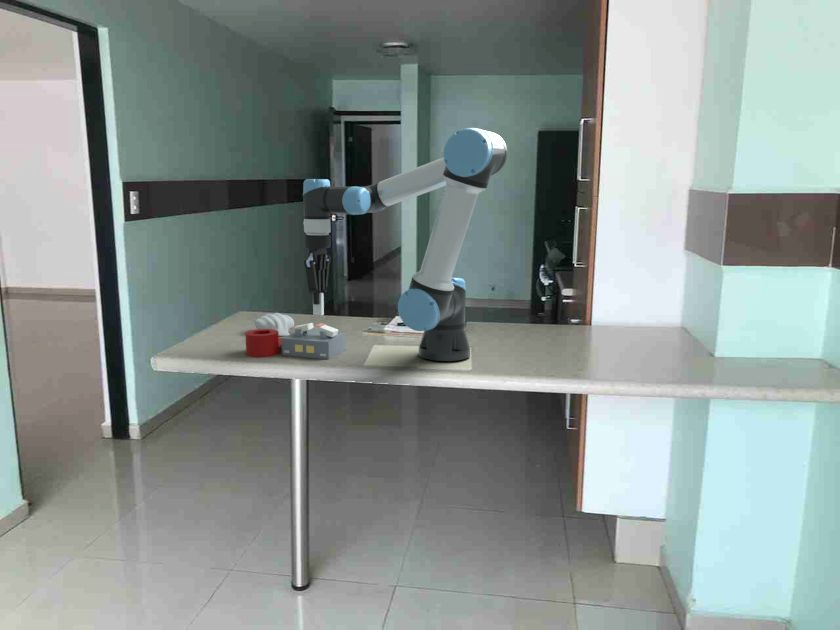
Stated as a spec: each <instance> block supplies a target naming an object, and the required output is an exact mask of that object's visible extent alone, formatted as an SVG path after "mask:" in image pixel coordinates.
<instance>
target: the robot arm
mask: <svg viewBox="0 0 840 630" xmlns="http://www.w3.org/2000/svg"><path fill="white" fill-rule="evenodd" d="M507 160H508V147H507V144H506V142H505V140H504V139H503V138H502V136H500V135H499V134H498V133H496V132H494V131H489V130H485V129H481V128H476V127H467V128H466V127H465V128H461V129H459V130H457V131H455V132H454V133H452V134H451V135H450V137H449V138H448V139H447V140H446V142H445V145H444V149H443V157H441V158H438V159H435V160H434V161H430V162H427V163H426V164H423V165H422V164H421V165H420V166H417V167H415V168H412V169H410V170H407V171H404V172H402V173H400V174H396V175H394V176H391V177H388V178H386V179H383V180H381V181H378V182H376V183H373V184H370V185H366V186H332V185H331V181H330V180H329V179H326V178H325V179H324V178H322V179H321V178H306V179H305V180H304V181H303V186H302V187H303V188H302V189H303V191H302V192H303V193H302V199H303V200H302V201H303V222H302V225H303V232H304V233H305V234H304V235H303V246H304V248H306V249H308V255H307V256H308V258H307V259H304V260H303V264H304V268H305V273H306V280H307V290H308V293H309V294H312V310H313V311H312V315H313V316H323V315H325V311H324V310H325V309H324V308H325V303H324V302H325V301H324V299H325V297H324V295H325V294H324V293H327V292H328V290H327V289H328V284H329V271H330V263H331V259H332V257H331V255H328V254H327V253H328V252H327V249H329V248H331V246H332V245H331V241H332V240H331V239H332V237H331V235H330V234H329V233H331V230H332V229H331V214H338V215H339V214H340V215H351V216H355V215H357V216H358V215H359V216H360V215H364V214H367V213H368V214H370V213H371V214H374V213H378V212H381V211H383V210H384V209H385V208H388V207H390V206H393V205H396V204H398V203H401V202H404V201H407V200H410V199H413V198H416V197H419V196H421V195H424V194H427V193H430V192H432V191H436V190H438V189H441V188H444V187H445V188H444V190H443V193H442V197H441V200H440V204H439V208H438V211H437V213H436V217H435V221H434V224H433V227H432V230H431V234H430V237H429V240H428V244H427V247H426V250H425V253H424V257H423V259H422V262H421V267H420V270H418V271H417V272H415V273H413V274H412V277H411V279H410V282H409V287H408V289H407V290H405V291H404V292H403V293H402V294H401V296H400V297H399V298H398V303H397V312H398V315H399V317H400V320H401V321H402V323H403V324H404V325H405V326H406V327H407V328H408V329H410V330H412V331H417V332H423V334H422V336H421V339H420V343H419V345H418V356H419V357H420V358H423V359H425V360H429V361H439V362H456V361H461V360H465V359H468V358H470V357H471V346H470V343H469V340H468V339H469V338H468V336H467V333H466V325H465V324H466V295H467V294H466V293H467V288H466V281H465V280H464V278H461V277H453V275H454V272H455V268H456V266H457V263H458V259H459V256H460V253H461V249H462V247H463V243H464V240H465V237H466V234H467V230H468V227H469V225H470V221H471V220H472V219H471V218H472V215H473V213H474V208H475V206H476V203H477V200H478V197H479V194H480V193H482V192H484V191H485V190H487V188H488V186H489V182H490V178H491V176H493V175H496V174H498V173H499V172H500V171H501V170H503V168H504V166H505V165H506V163H507Z"/></svg>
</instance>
